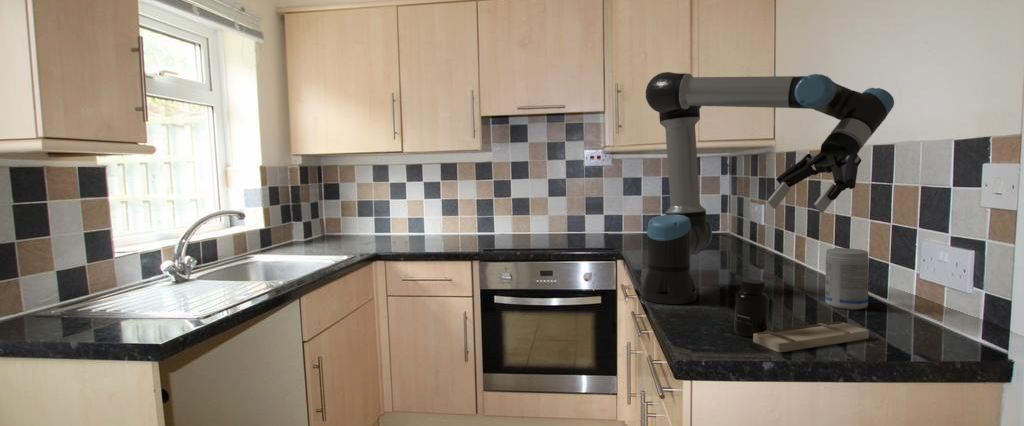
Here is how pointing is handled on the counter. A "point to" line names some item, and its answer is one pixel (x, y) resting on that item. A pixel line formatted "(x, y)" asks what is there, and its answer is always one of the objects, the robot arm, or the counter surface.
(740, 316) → the supplement bottle
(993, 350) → the counter surface
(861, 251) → the supplement tub
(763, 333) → the birch board
